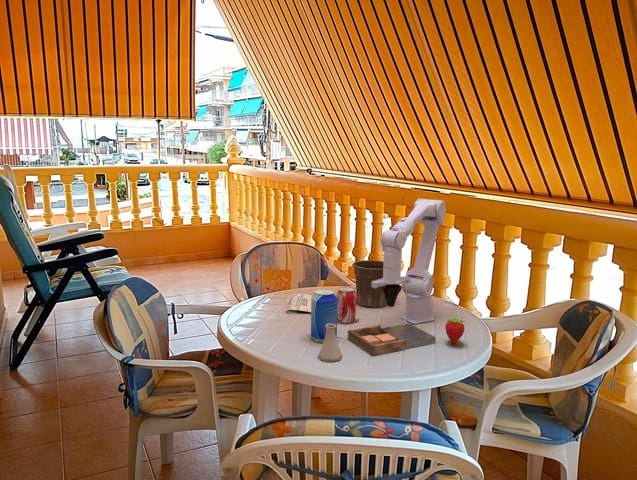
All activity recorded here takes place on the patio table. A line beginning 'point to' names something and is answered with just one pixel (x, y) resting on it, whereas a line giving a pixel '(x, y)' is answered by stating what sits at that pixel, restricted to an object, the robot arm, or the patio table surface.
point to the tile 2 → (385, 338)
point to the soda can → (346, 305)
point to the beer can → (323, 313)
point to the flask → (330, 345)
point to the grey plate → (409, 335)
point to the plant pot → (369, 283)
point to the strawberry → (454, 329)
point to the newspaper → (298, 303)
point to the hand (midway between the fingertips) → (390, 305)
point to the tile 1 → (371, 339)
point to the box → (372, 349)
